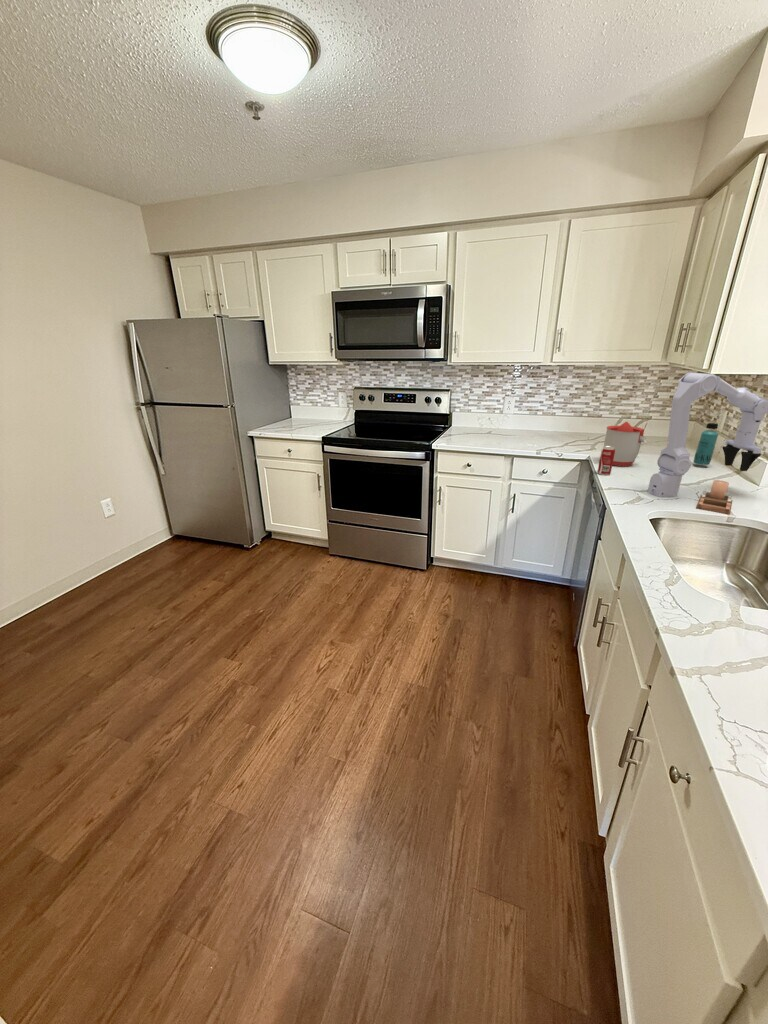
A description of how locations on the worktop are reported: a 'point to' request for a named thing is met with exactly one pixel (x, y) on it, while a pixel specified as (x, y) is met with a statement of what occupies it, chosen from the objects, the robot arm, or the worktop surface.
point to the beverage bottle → (706, 445)
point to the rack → (714, 504)
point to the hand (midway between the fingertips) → (735, 468)
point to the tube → (718, 489)
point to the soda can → (606, 460)
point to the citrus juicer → (624, 443)
